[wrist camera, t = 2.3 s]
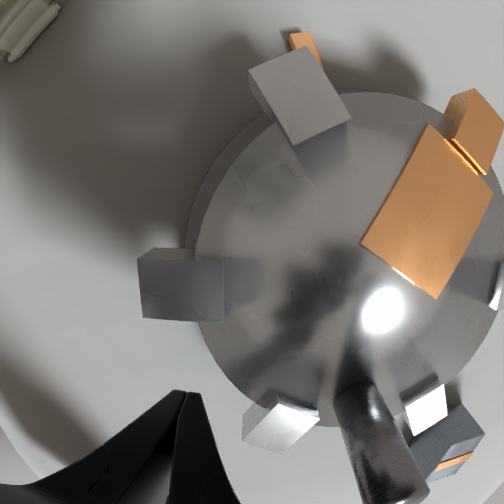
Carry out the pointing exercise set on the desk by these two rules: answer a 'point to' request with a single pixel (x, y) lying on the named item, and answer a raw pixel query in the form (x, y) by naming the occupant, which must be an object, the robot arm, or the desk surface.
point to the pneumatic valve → (23, 24)
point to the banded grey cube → (446, 444)
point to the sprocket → (345, 266)
